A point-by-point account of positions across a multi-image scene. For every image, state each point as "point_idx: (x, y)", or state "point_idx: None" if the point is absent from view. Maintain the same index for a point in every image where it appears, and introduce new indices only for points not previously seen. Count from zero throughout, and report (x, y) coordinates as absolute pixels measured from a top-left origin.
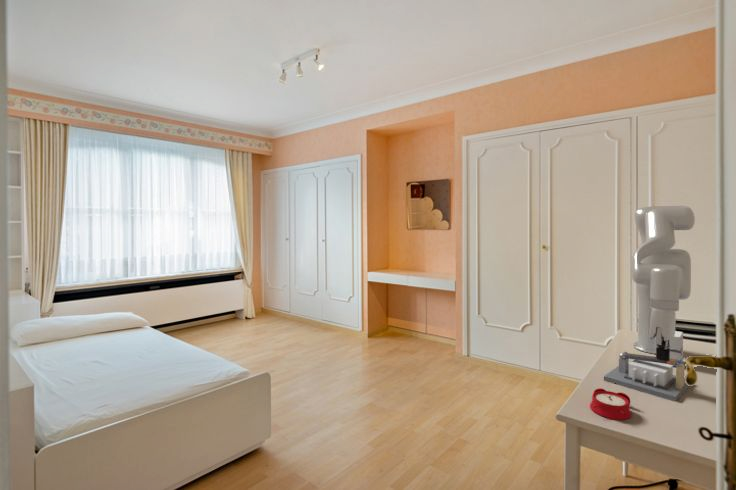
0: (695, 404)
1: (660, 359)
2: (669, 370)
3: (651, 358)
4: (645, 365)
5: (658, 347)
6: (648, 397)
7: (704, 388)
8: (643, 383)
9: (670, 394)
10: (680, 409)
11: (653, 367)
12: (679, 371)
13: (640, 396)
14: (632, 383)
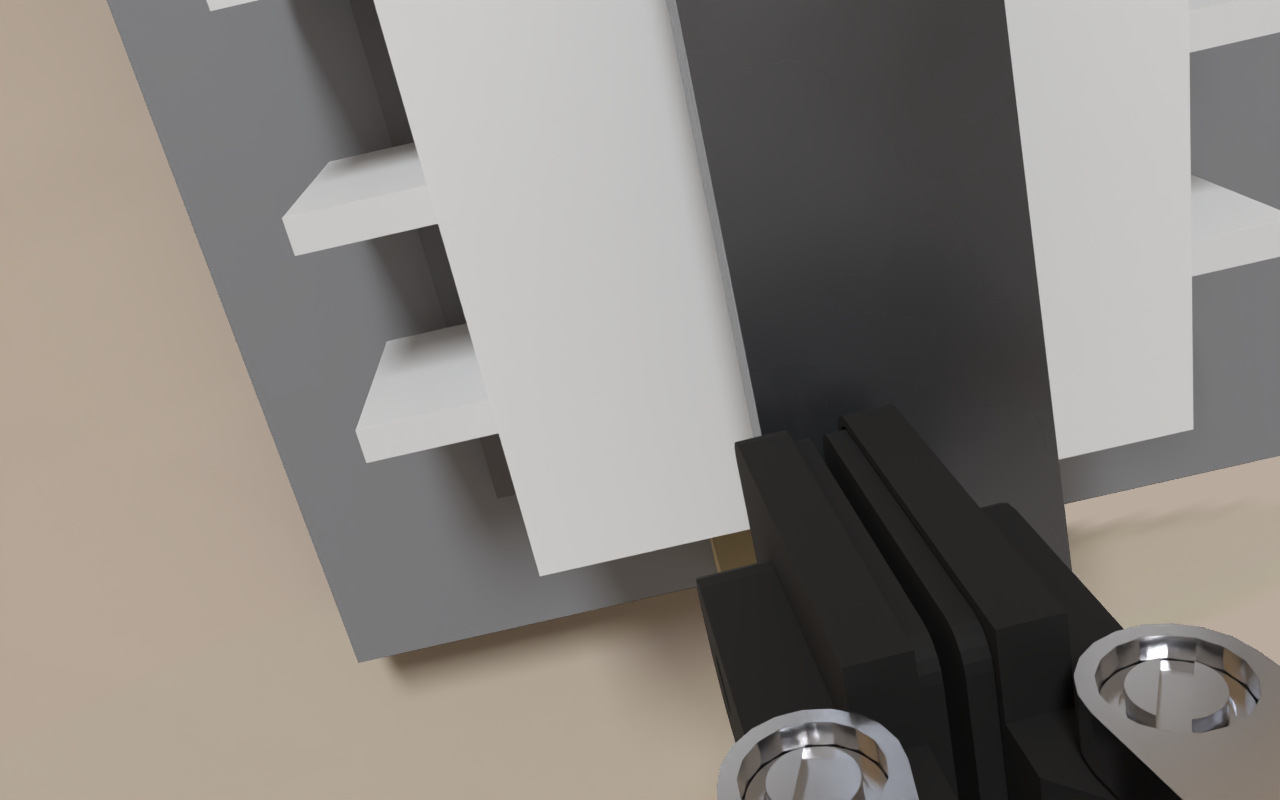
0: (531, 757)
1: (753, 534)
2: None
3: (770, 256)
4: (626, 99)
5: (762, 795)
6: (111, 377)
7: (1206, 575)
8: (383, 142)
9: (373, 593)
10: (193, 753)
11: (662, 284)
12: None
13: (10, 296)
14: (169, 25)
